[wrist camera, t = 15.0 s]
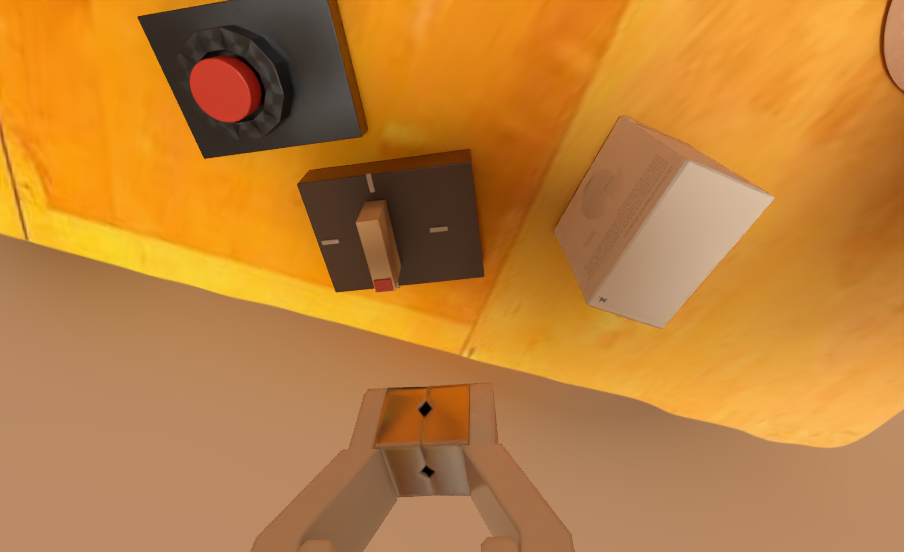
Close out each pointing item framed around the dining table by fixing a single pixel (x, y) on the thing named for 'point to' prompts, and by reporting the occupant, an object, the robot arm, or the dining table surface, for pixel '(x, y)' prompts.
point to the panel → (399, 217)
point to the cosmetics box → (652, 223)
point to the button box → (264, 71)
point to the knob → (379, 245)
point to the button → (225, 88)
